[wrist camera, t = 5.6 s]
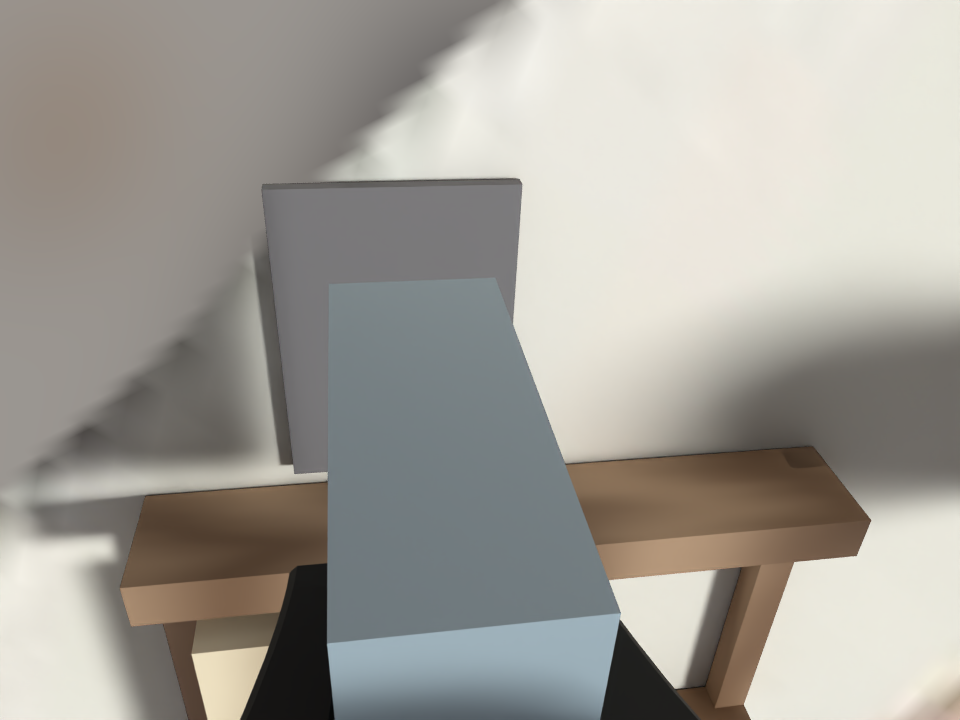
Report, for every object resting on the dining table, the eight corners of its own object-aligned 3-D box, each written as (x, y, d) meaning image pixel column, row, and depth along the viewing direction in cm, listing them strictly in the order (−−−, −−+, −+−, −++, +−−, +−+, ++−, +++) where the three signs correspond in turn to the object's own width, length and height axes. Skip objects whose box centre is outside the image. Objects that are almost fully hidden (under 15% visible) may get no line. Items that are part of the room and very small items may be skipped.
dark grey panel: (294, 465, 19) (294, 474, 19) (263, 183, 15) (261, 189, 15) (501, 450, 20) (503, 459, 20) (519, 179, 16) (522, 184, 16)
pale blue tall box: (351, 604, 16) (362, 997, 10) (328, 284, 12) (327, 642, 7) (478, 592, 16) (551, 965, 11) (495, 277, 12) (621, 613, 7)
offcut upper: (238, 756, 23) (232, 820, 22) (202, 590, 19) (191, 654, 18) (413, 734, 24) (419, 794, 22) (411, 570, 20) (418, 629, 18)
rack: (214, 768, 25) (202, 863, 23) (145, 496, 19) (119, 588, 17) (726, 704, 28) (762, 784, 25) (812, 446, 21) (871, 520, 19)
